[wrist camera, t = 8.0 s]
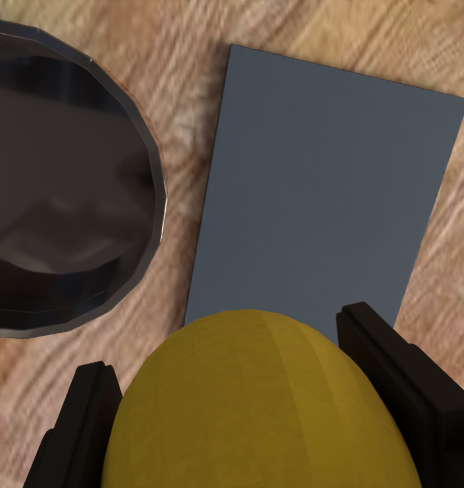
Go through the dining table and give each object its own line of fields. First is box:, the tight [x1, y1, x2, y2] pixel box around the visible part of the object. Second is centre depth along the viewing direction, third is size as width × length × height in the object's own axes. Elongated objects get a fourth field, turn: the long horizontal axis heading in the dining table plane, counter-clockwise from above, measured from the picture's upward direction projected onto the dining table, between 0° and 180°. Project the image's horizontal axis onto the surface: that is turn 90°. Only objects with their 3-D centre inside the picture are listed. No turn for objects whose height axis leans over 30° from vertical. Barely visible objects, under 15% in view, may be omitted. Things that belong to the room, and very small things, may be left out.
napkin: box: [183, 44, 464, 348], centre depth 28 cm, size 16×20×1 cm
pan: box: [0, 20, 169, 339], centre depth 22 cm, size 16×16×4 cm
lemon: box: [101, 309, 422, 488], centre depth 8 cm, size 6×6×8 cm
